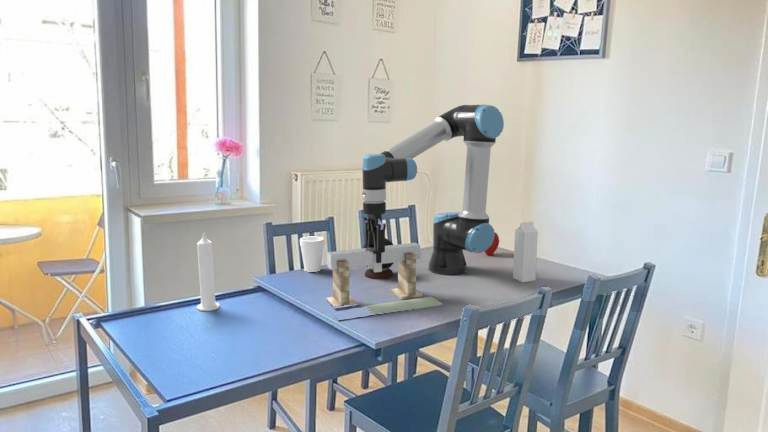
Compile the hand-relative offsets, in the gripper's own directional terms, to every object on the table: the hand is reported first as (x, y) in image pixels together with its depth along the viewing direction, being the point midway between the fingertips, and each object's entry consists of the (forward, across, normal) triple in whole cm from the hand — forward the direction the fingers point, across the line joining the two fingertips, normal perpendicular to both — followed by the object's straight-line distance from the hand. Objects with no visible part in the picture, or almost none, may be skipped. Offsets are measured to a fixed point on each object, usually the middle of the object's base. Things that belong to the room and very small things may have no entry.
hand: (375, 269), depth 193 cm
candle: (+10, -13, -53) cm, 56 cm away
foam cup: (+10, -41, -10) cm, 43 cm away
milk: (+11, +2, +60) cm, 61 cm away
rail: (-2, 0, 0) cm, 2 cm away
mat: (+10, +11, 0) cm, 15 cm away
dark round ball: (+10, -25, +12) cm, 29 cm away
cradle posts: (+10, 0, 0) cm, 10 cm away
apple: (+11, -34, +68) cm, 77 cm away
